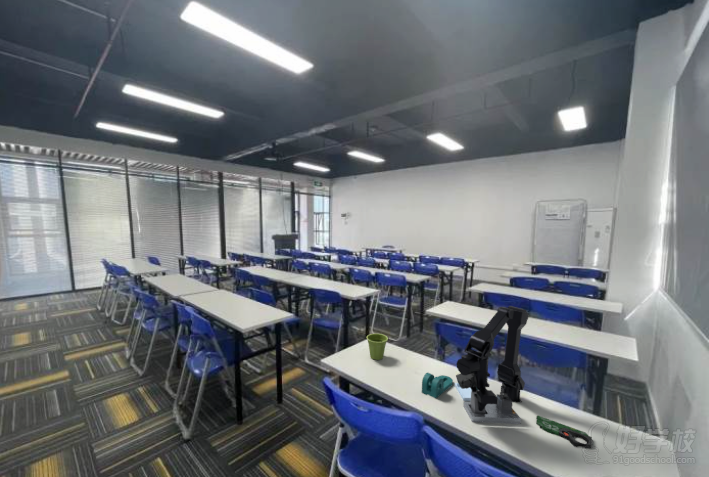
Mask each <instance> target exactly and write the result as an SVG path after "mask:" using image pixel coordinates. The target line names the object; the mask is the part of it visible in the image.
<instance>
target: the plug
mask: <svg viewBox="0 0 709 477" xmlns="http://www.w3.org/2000/svg"><path fill="white" fill-rule="evenodd" d="M477 392H478V390H476V392H471V401H470V402H471V410H472V412H473V413H474V414H485V408H484V409H483V410H482V411H479V407H478V399H477V398H476V396H475V395H474V394H477Z"/></svg>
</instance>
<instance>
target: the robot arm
mask: <svg viewBox="0 0 709 477" xmlns="http://www.w3.org/2000/svg"><path fill="white" fill-rule="evenodd" d="M496 311H497V312H495V314H494V315H493V316H492V318H491V319H490V320H489V321H488V322H487V323H486V325H485V326H484V328H482V329H480V330H476V331H475V333H473V334H471V336H470V337H469V340H468V342H467V344H466V345H465V348H464V351H463V352H465V353H467V354H463V355H461V358H459V359H458V360H457V361H456V368H457V370H458V372H459V373H458V374H456V375H455V378H456V381H457V383H458V384H459V385H460V387H461V388H462V389H465V388H466V389H467V388H471V391H472V392H476V390H478V392H477V394H474V395H475V396H476V398H477V399H478V407H479V411H482V410H483V409H484V408H485V406H486V405H487V404H498V398H497V394H495V393H494V392H493V390H491V389H487V388H490V383H489V382H488V378H489V377H491V374H490V373H489V357H491V356H492V353H491V352H492V350H493V347H494V346H495V338H496V337H497V335H498V334H499V333H500V332H501V330H502V329H503V328H504V326H505V325H507V333H506V334H507V336H506V342H505V349H504V350H505V351H504V359H503V361H502V362H501V363H498V364H497V371H496V373H497V379H498V381H499V382H501V385H500V392H499V395H502V393H503V392H504V393H506V394H507V395H508V397H509V398H510V399H511V400H512V403H522V402H523V401H522V400H521V391H523V390H524V388H525V385H526V382H525V381H524V380H523V378H522V377H521V376H522V372H521V368H520V366H519V364H518V358H519V351H520V342H521V336H522V330H523V329H524V328H525V326H526V325H527V324H528V320H529V313H528V311H527V310H526V309H523V308H520V307H515V306H513V305H508V307H507V306H499V307H498V308H497V310H496Z"/></svg>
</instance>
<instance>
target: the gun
mask: <svg viewBox="0 0 709 477" xmlns="http://www.w3.org/2000/svg"><path fill="white" fill-rule="evenodd" d="M535 420H536V425H538V426H539V429H541V430H542V431H545V432H547V434H548V433H549V434H551V435H553V436H556V437H561V438H562V439H564V440H568V442H569V443H570V444H571V445H572V446H573V447H575V448H579V447H580V448H584V449H587V450H589V449H590V450H591V449H592V448H593V437H592V436H590V435H589V434H588V433H587V432H585V431H583V430H580V429H576V428H574V427H572V426H569V425H566V424H564V423H560V422H557V421H554V420H553V419H549V418H546V417H543V416H541V415H536V417H535ZM575 438H578V439H582V440H583V441H585V442H586V443H583V442H580V441H578V440H577V439H575Z"/></svg>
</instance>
